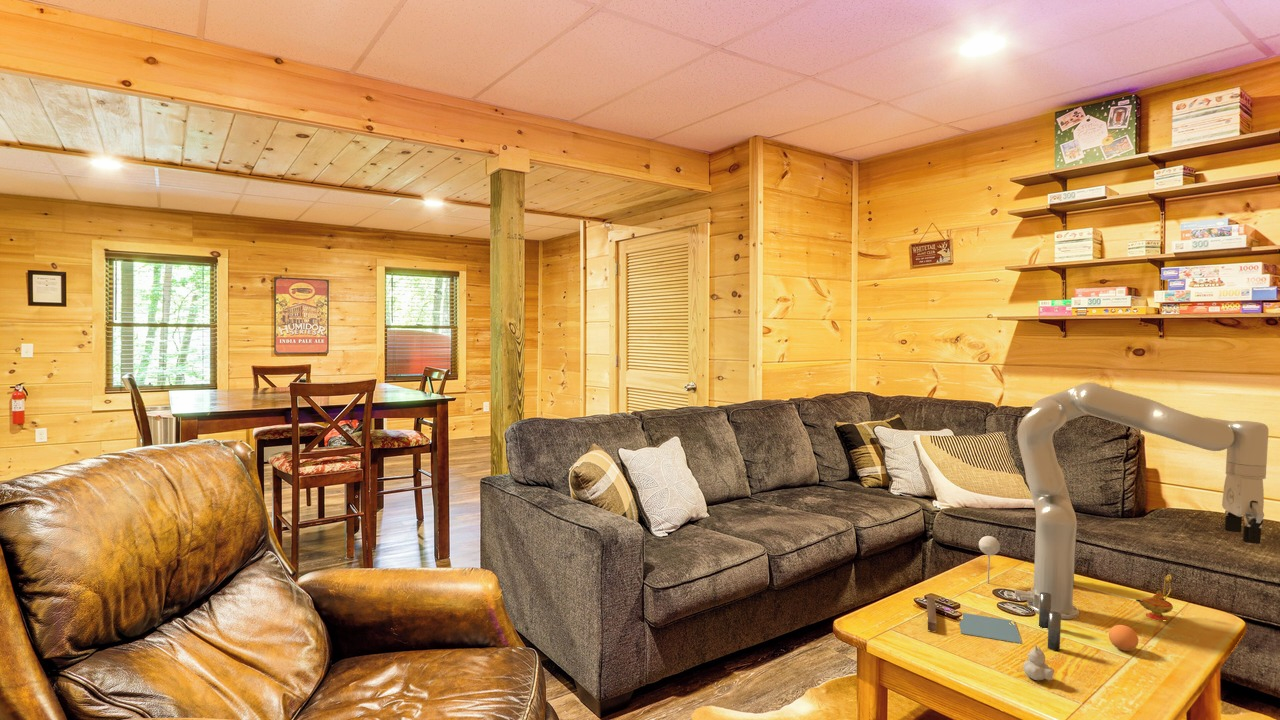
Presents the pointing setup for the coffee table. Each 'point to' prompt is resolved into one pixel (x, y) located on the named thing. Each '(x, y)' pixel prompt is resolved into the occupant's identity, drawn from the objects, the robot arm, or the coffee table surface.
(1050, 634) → the post
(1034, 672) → the grey lumpy figure
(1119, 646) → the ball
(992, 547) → the lollipop
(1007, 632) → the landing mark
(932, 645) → the coffee table surface
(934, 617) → the wall
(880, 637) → the coffee table surface
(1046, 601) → the post
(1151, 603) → the magic lamp
